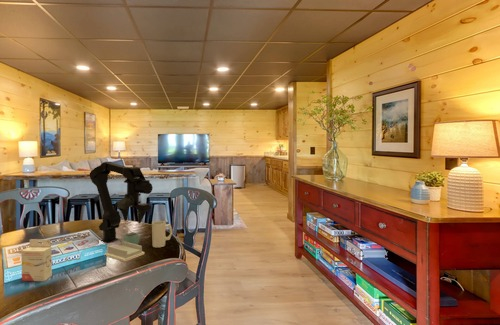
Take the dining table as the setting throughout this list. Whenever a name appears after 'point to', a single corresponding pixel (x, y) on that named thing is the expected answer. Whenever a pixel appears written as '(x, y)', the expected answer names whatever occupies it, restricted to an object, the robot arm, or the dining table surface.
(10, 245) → the dining table surface
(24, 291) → the dining table surface
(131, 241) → the block
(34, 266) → the ink cartridge box
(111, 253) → the mount board
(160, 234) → the mug
